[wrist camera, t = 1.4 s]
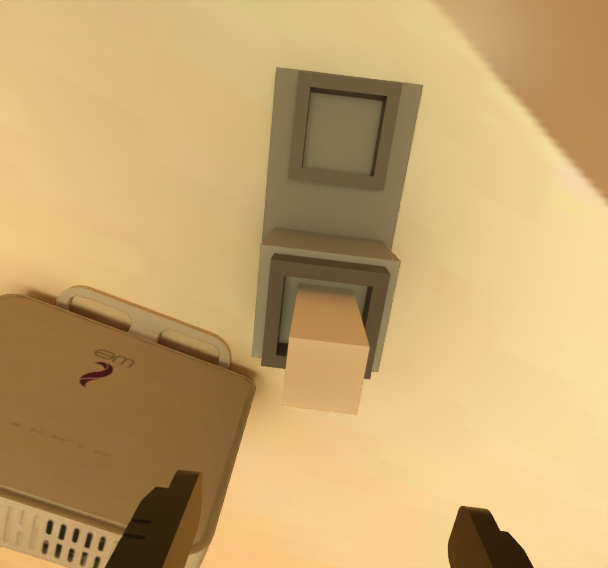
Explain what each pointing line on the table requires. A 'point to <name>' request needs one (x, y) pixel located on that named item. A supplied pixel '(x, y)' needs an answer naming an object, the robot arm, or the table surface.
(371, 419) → the table surface
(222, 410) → the network device
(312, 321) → the plug
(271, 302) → the grey stepped block
